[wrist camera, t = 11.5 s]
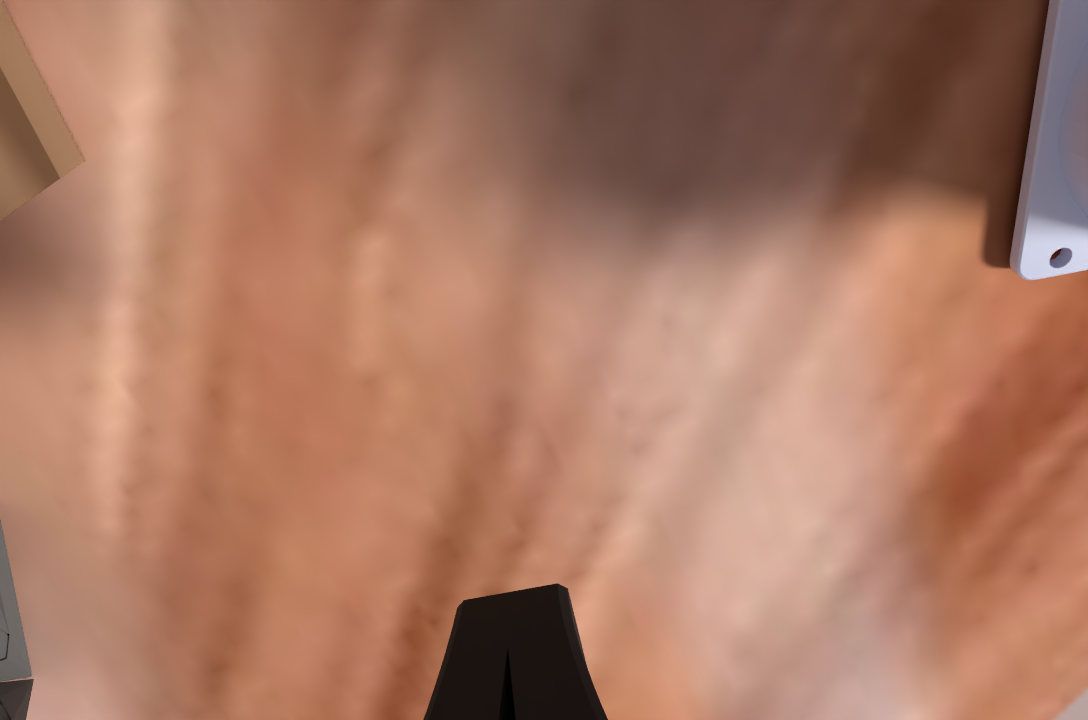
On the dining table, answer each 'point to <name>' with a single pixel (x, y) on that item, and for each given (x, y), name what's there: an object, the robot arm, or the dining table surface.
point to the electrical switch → (12, 648)
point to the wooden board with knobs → (28, 125)
